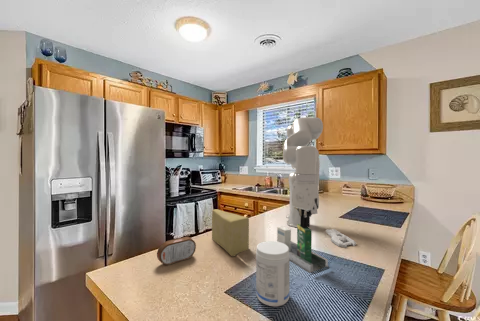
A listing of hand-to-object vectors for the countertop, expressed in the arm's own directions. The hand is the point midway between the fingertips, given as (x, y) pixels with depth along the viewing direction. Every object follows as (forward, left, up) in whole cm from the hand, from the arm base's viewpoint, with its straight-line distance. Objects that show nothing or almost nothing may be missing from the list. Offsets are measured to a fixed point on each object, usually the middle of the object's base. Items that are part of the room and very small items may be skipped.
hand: (305, 226), depth 83 cm
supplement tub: (+10, -23, -14) cm, 29 cm away
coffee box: (-1, 0, -13) cm, 13 cm away
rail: (-4, 0, -14) cm, 15 cm away
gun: (-9, +32, -15) cm, 37 cm away
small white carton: (-12, 0, -13) cm, 18 cm away
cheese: (-29, -19, -14) cm, 38 cm away
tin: (-25, -42, -14) cm, 51 cm away
